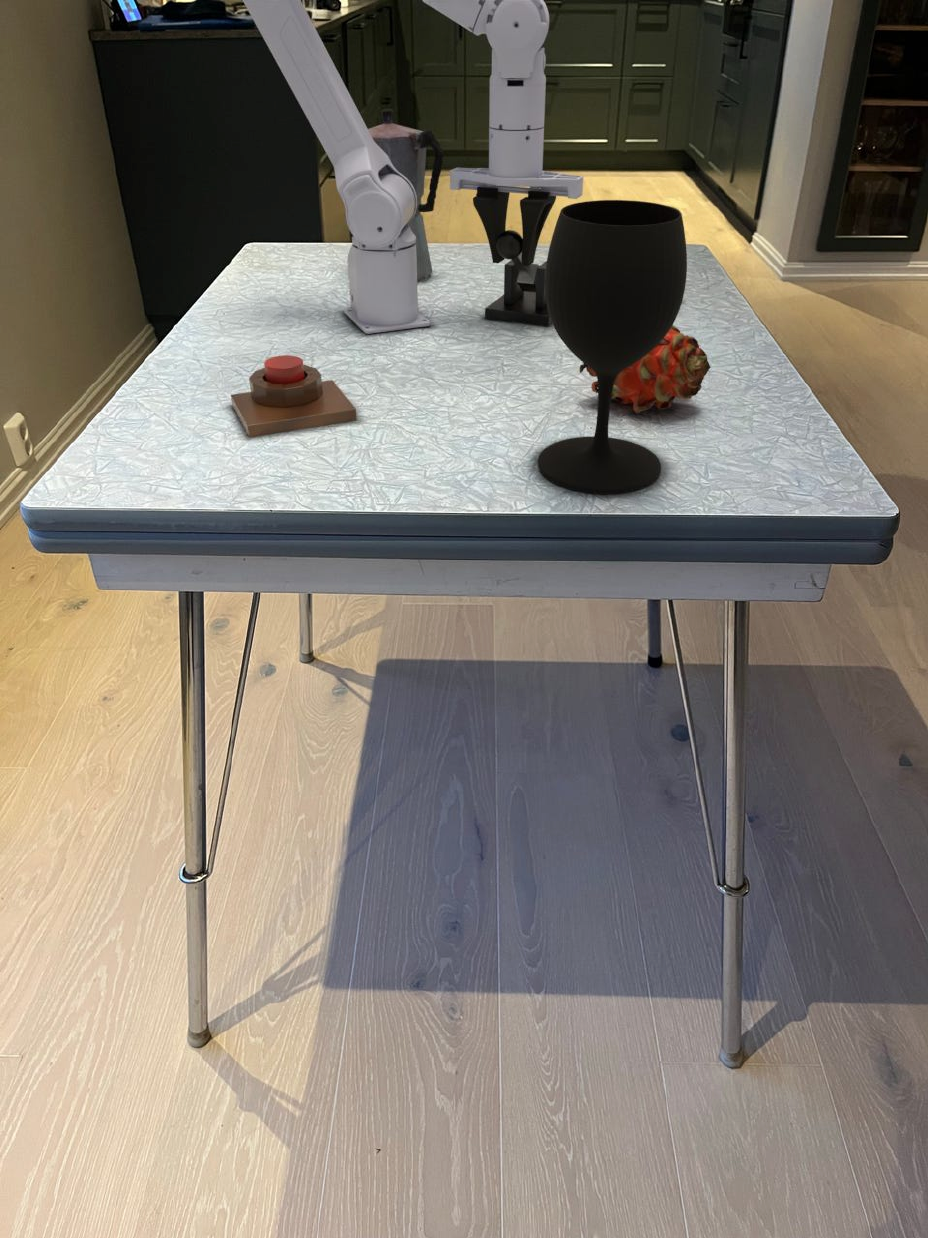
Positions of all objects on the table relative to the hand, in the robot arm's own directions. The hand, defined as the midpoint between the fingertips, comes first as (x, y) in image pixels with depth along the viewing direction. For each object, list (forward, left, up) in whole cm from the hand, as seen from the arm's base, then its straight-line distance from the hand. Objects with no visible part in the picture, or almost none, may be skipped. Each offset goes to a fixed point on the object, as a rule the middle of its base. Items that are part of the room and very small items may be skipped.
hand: (513, 262), depth 106 cm
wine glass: (+37, -9, -7) cm, 38 cm away
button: (+14, -30, -5) cm, 33 cm away
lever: (-1, +1, -2) cm, 2 cm away
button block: (+16, -30, -7) cm, 34 cm away
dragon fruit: (+27, +1, -7) cm, 28 cm away
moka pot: (-25, -5, -7) cm, 27 cm away
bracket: (-4, +4, -7) cm, 9 cm away
